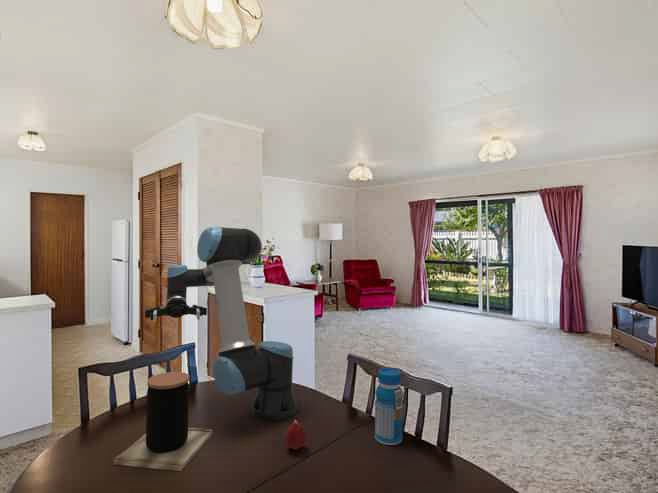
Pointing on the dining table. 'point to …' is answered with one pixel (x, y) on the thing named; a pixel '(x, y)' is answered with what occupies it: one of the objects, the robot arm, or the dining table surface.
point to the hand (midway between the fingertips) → (177, 316)
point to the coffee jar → (167, 411)
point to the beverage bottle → (389, 407)
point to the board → (167, 461)
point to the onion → (295, 435)
